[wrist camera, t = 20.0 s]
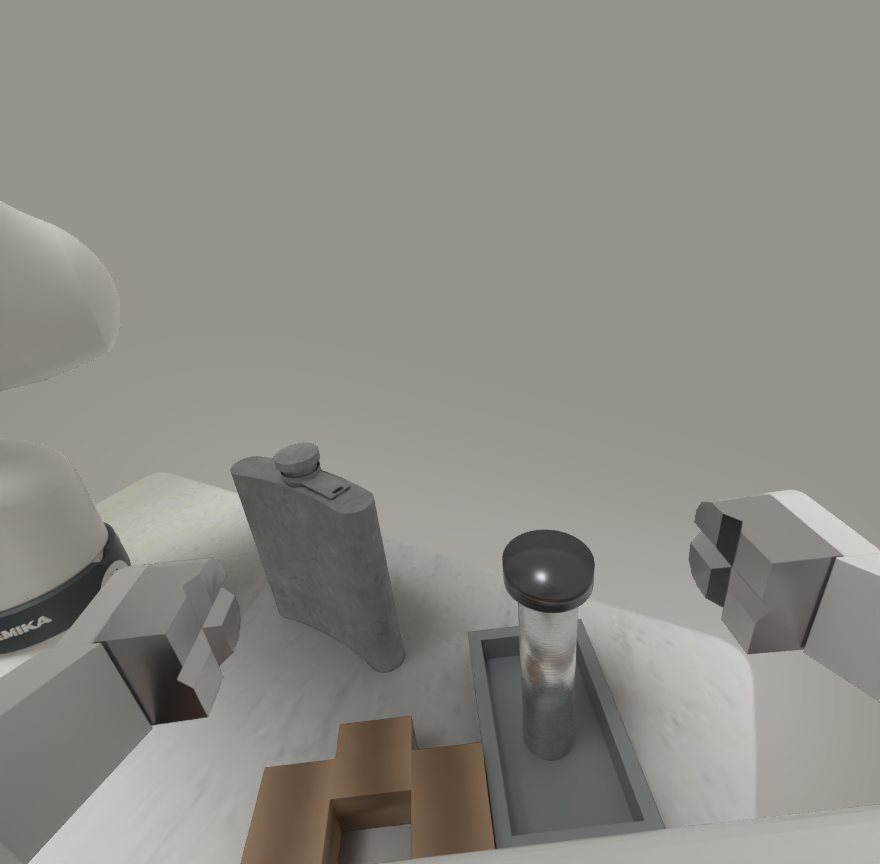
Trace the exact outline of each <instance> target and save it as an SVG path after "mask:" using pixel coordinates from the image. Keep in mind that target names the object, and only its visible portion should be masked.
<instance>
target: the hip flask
mask: <svg viewBox="0 0 880 864" xmlns="http://www.w3.org/2000/svg"><path fill="white" fill-rule="evenodd" d="M319 459H320V454H319V450H318V447H317V446H316V445H314V444H312V443H298V444H294V445H290V446H287V447H285V448H283V449H281V450H279V451H278V452H277V453H276V454H275V456H274V458H267V457H259V456H256V457H250V458H246V459H243V460H240V461H238V462H237V463H235V464H234V465H233V466H232V467H231V469H230V471H231V474H232V477H233V480H234V482H235V486H236V488H237V491H238V494H239V497H240V500H241V503H242V506H243V509H244V512H245V514H246V517H247V520H248V523H249V526H250V529H251V532H252V535H253V538H254V540H255V543H256V546H257V549H258V552H259V555H260V558H261V561H262V563H263V566H264V569H265V572H266V575H267V578H268V581H269V584H270V586H271V589H272V592H273V595H274V598H275V601H276V604H277V607H278V610H279V612H280V614H281V616H283V617H285V618H289V619H292V620H295V621H299V622H301V623H304V624H307V625H309V626H311V627H314V628H316V629H318V630H320V631H322V632H324V633H326V634H327V635H329V636H331V637H333V638H334V639H336V640H338V641H339V642H341V643H343V644H344V645H346V646H347V647H349V648H350V649H351V650H353V651H354V652H355V653H357V654H358V655H359V656H360V657H362V658H363V659H364V660H365V661H366V662H367V663H368V664H369V665H370V666H371V667H372V668H373V669H375V670H376V671H378V672H390V671H393V670H395V669H396V668H397V667H399V666H400V664H401V663H402V661H403V659H404V651H403V645H402V640H401V635H400V630H399V625H398V620H397V614H396V609H395V604H394V599H393V594H392V589H391V584H390V578H389V573H388V568H387V563H386V558H385V553H384V548H383V542H382V537H381V532H380V527H379V522H378V517H377V512H376V507H375V501H374V497H373V494H372V493H371V492H369V491H367V490H366V489H364V488H362V487H360V486H358V485H356V484H354V483H352V482H350V481H348V480H346V479H343V478H341V477H339V476H336V475H334V474H330V473H328V472H325V471H322V470H321V467H320V462H319Z"/></svg>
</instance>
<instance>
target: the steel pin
mask: <svg viewBox="0 0 880 864" xmlns="http://www.w3.org/2000/svg"><path fill="white" fill-rule="evenodd" d="M594 566H595V565H594V557H593V555H592V553H591V551H590V550H589V548H588V547H587V546H586V545H585V544H584V543H583V542H582V541H580V540H579V539H577V538H576V537H574V536H572V535H569V534H567V533H563V532H560V531H555V530H535V531H530V532H526V533H524V534H521V535H519V536H517V537H516V538H514V539H513V540H512V541H510V542H509V544H508V545H507V546H506V548H505V550H504V552H503V578H504V584H505V587H506V589H507V591H508V593H509V594H510V595H511V596H512V598H513V599H514V600H516V601H517V602H518V615H519V640H520V665H521V689H522V714H523V736H524V741H525V743H526V745H527V747H528V749H529V750H530V751H531V752H532V753H533V754H534V755H535V756H537V757H538V758H540V759H543V760H546V761H556V760H559V759H561V758H563V757H565V756H566V755H567V754H568V752H569V751H570V749H571V746H572V738H573V714H574V690H575V666H576V642H577V618H578V607H579V606H580V605H582V604H583V603H584V602H585V601H586V600H587V599H588V598H589V596H590V595H591V592H592V590H593V582H594Z"/></svg>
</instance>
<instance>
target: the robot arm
mask: <svg viewBox="0 0 880 864" xmlns="http://www.w3.org/2000/svg"><path fill="white" fill-rule="evenodd" d="M120 323H121V306H120V300H119V296H118V292H117V289H116V286H115V284H114V282H113V280H112V278H111V276H110V275H109V273H108V271H107V269H106V268H105V267H104V265H103V264H102V263H101V261H100V260H99V259H98V258H97V257H96V256H95V255H94V254H93V252H91V251H90V250H89V249H88V248H87V247H86V246H85V245H84V244H83V243H81V242H80V241H79V240H78V239H76V238H75V237H74V236H72V235H70V234H69V233H67V232H66V231H64V230H63V229H61V228H59V227H57V226H55V225H53V224H50V223H48V222H45V221H42V220H39V219H37V218H34V217H32V216H30V215H27V214H25V213H23V212H21V211H19V210H17V209H15V208H13V207H11V206H9V205H7V204H5V203H3V202H2V201H0V391H4V390H8V389H12V388H16V387H20V386H24V385H28V384H32V383H37V382H41V381H46V380H48V379H50V378H52V377H55V376H57V375H60V374H62V373H65V372H67V371H70V370H72V369H74V368H77V367H79V366H81V365H84V364H86V363H88V362H90V361H92V360H95V359H97V358H99V357H101V356H104V355H106V354H108V353H109V351H110V350H111V348H112V347H113V345H114V343H115V341H116V339H117V335H118V333H119V329H120ZM694 522H695V523H696V525H697V526H698V527H699V528H700V530H701V532H700V533H699V534H698V535H697V537H696V538H695V539H694V540H693V541H692V542H691V544H690V552H689V562H690V567H691V573H692V576H693V578H694V580H695V582H696V585H697V586H698V588H699V589H700V591H701V592H702V594H703V595H704V596H705V598H706V599H708V600H710V601H712V602H714V603H716V604H717V605H719V606H721V607H723V610H722V621H723V622H724V624H725V625H726V626H727V627H728V629H729V630H730V632H731V633H732V635H733V636H734V637H735V638H736V640H737V641H738V642H739V644H740V645H741V647H742V648H743V649H744V651H745V652H746V653H747V654H756V653H768V652H779V651H790V650H801V649H804V651H803V652H804V653H805V654H807V655H808V656H810V657H811V658H813V659H814V660H816V661H817V662H819V663H820V664H822V665H823V666H825V667H826V668H828V669H829V670H831V671H833V672H834V673H836V674H837V675H839V676H840V677H842V678H843V679H845V680H846V681H848V682H849V683H851V684H852V685H854V686H855V687H857V688H858V689H860V690H861V691H863V692H864V693H866V694H868V695H869V696H871V697H872V698H874V699H875V700H877V701H878V702H880V550H879V549H878V548H876V547H875V546H874V545H872V544H871V543H870V542H868V541H867V540H866V539H864V538H863V537H862V536H860V535H859V534H858V533H856V532H855V531H854V530H852V529H851V528H849V527H848V526H847V525H846V524H844V523H843V522H842V521H840V520H839V519H838V518H836V517H835V516H834V515H832V514H831V513H830V512H828V511H827V510H826V509H824V508H823V507H822V506H820V505H819V504H818V503H816V502H815V501H814V500H812V499H811V498H810V497H808V496H807V495H806V494H804V493H802V492H799V491H796V490H786V491H778V492H771V493H765V494H761V495H755V496H747V497H738V498H730V499H722V500H713V501H705V502H701V504H700V505H699V507H698V508H697V510H696V515H695V521H694ZM226 576H227V575H226V573H225V571H224V568H223V566H222V564H221V562H220V561H219V560H217V559H214V558H205V559H194V560H184V561H173V562H162V563H154V564H144V565H135V566H131V563H130V560H129V557H128V555H127V553H126V551H125V549H124V547H123V545H122V544H121V542H120V539H119V537H118V535H117V534H116V533H115V531H114V530H113V528H112V527H111V526H110V525H109V524H107V523H105V522H103V521H102V519H101V517H100V515H99V513H98V511H97V509H96V507H95V505H94V503H93V501H92V499H91V498H90V495H89V493H88V491H87V489H86V488H85V486H84V484H83V482H82V480H81V478H80V476H79V474H78V472H77V470H76V468H75V466H74V464H73V463H72V462H71V461H70V460H69V459H68V458H67V457H66V456H64V455H63V454H62V453H60V452H59V451H57V450H55V449H53V448H51V447H48V446H46V445H43V444H40V443H36V442H32V441H28V440H21V439H11V438H0V864H28V863H29V861H30V860H31V859H32V858H33V857H34V856H35V855H36V854H37V853H38V852H39V851H40V850H41V848H42V847H43V846H44V845H45V844H46V843H47V842H48V841H49V840H50V839H51V838H52V837H53V835H54V834H55V833H56V832H57V831H58V830H59V829H60V828H61V827H62V826H63V825H64V824H65V822H66V821H67V820H68V819H69V818H70V817H71V816H72V815H73V814H74V813H75V812H76V811H77V810H78V808H79V807H80V806H81V805H82V804H83V803H84V802H85V801H86V800H87V799H88V798H89V797H90V795H91V794H92V793H93V792H94V791H95V790H96V789H97V788H98V787H99V786H100V785H101V784H102V782H103V781H104V780H105V779H106V778H107V777H108V776H109V775H110V774H111V773H112V772H113V771H114V769H115V768H116V767H117V766H118V765H119V764H120V763H121V762H122V761H123V760H124V759H125V758H126V757H127V755H128V754H129V753H130V752H131V751H132V750H133V749H134V748H135V747H136V746H137V745H138V744H139V742H140V741H141V740H142V739H143V738H144V737H145V736H146V735H147V734H148V733H149V732H150V731H151V729H152V726H151V725H158V724H165V723H172V722H178V721H185V720H192V719H199V718H206V717H208V716H209V713H210V711H211V708H212V706H213V703H214V701H215V698H216V696H217V693H218V690H219V688H220V685H221V683H222V680H223V678H224V677H223V675H222V672H221V670H220V668H219V666H220V665H221V664H222V663H223V662H224V661H225V660H226V659H227V658H228V657H229V656H230V655H231V654H232V653H233V652H234V649H235V646H236V644H237V641H238V638H239V630H240V621H241V618H240V611H239V606H238V603H237V600H236V598H235V595H233V594H232V593H230V592H229V591H227V590H226V589H225V588H223V587H222V585H223V583H224V581H225V579H226ZM374 864H880V804H875V805H866V806H858V807H849V808H841V809H832V810H824V811H815V812H807V813H798V814H790V815H781V816H773V817H764V818H755V819H747V820H738V821H730V822H721V823H713V824H704V825H696V826H687V827H679V828H670V829H662V830H653V831H645V832H636V833H628V834H619V835H611V836H602V837H593V838H585V839H576V840H568V841H559V842H551V843H543V844H534V845H526V846H517V847H509V848H500V849H492V850H483V851H475V852H467V853H458V854H450V855H441V856H433V857H424V858H416V859H408V860H399V861H391V862H382V863H374Z"/></svg>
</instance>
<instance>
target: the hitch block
mask: <svg viewBox="0 0 880 864" xmlns="http://www.w3.org/2000/svg"><path fill="white" fill-rule="evenodd" d="M410 823H411V859H416V858H424V857H433V856H441V855H450V854H458V853H467V852H475V851H483V850H492V849H495V845H494V837H493V829H492V821H491V814H490V806H489V798H488V790H487V782H486V775H485V767H484V759H483V751H482V744H481V742H479V743H471V744H462V745H453V746H445V747H436V748H428V749H419V750H418V747H417V742H416V737H415V732H414V727H413V722H412V717H411V716H406V717H398V718H389V719H381V720H372V721H363V722H355V723H346V724H340V728H339V735H338V743H337V750H336V758H335V759H333V760H325V761H316V762H308V763H299V764H290V765H282V766H273V767H265V770H264V773H263V777H262V781H261V785H260V789H259V793H258V797H257V801H256V805H255V809H254V813H253V817H252V821H251V825H250V829H249V832H248V836H247V840H246V844H245V848H244V852H243V856H242V860H241V864H338V863H339V854H340V845H341V836H342V831H351V830H359V829H368V828H376V827H385V826H393V825H402V824H410Z"/></svg>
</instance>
